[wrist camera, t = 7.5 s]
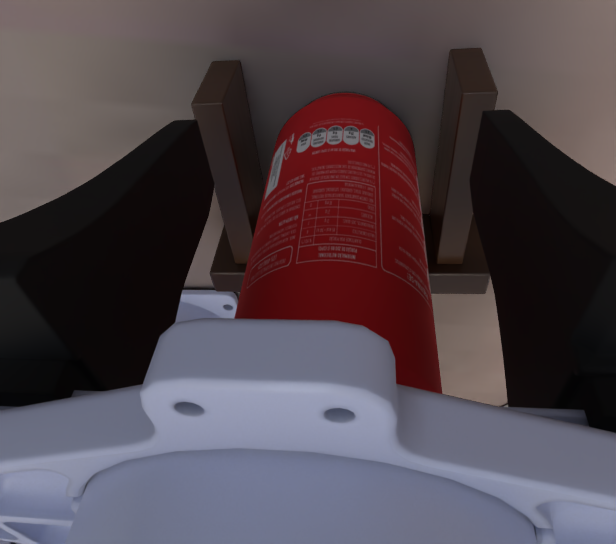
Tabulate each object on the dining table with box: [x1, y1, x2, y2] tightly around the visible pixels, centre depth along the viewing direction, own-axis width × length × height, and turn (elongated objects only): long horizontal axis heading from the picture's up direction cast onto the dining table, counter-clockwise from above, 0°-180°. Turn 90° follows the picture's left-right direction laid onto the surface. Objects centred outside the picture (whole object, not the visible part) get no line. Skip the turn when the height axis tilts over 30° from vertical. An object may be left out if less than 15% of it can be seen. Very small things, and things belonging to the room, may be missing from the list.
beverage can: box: [234, 92, 442, 394], centre depth 15 cm, size 5×5×12 cm
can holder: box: [191, 48, 498, 294], centre depth 18 cm, size 8×11×4 cm
